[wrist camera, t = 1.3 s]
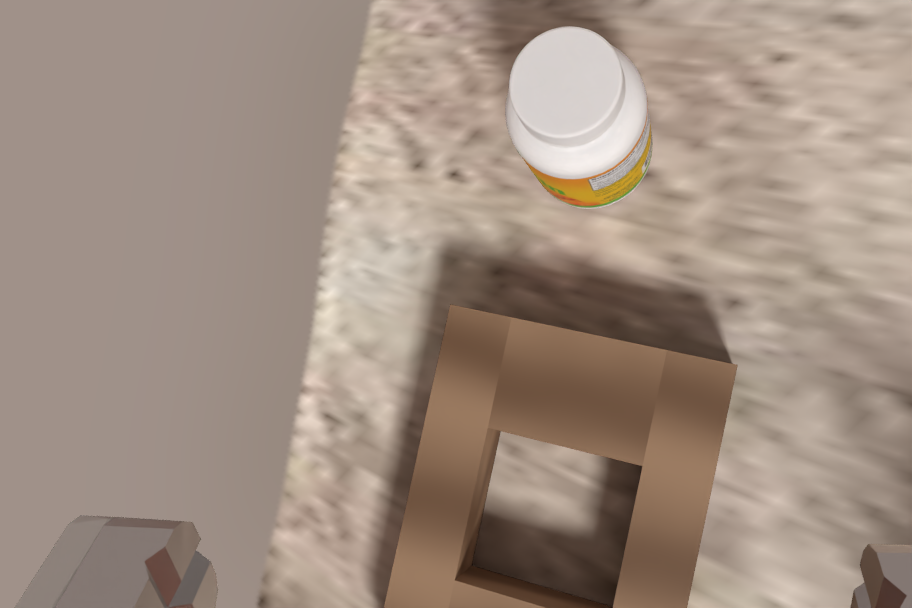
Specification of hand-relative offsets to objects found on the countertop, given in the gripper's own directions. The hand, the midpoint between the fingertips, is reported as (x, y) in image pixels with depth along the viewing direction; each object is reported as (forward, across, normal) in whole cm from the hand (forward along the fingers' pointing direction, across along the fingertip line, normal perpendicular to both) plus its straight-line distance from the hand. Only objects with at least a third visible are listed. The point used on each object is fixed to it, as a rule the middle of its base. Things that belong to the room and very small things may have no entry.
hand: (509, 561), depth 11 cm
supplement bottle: (+30, 0, +9) cm, 31 cm away
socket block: (+19, +1, +21) cm, 29 cm away
